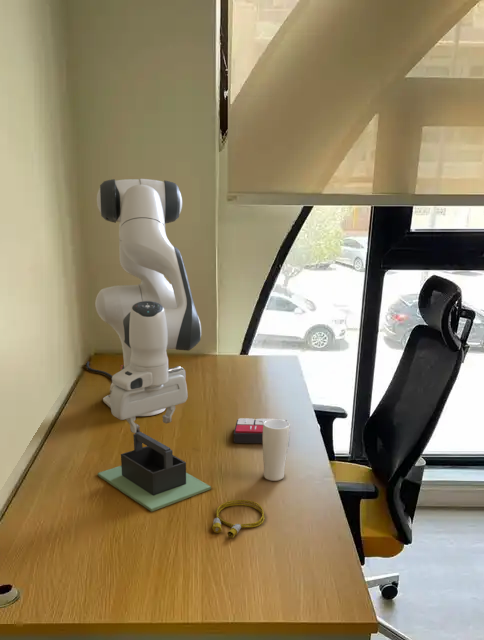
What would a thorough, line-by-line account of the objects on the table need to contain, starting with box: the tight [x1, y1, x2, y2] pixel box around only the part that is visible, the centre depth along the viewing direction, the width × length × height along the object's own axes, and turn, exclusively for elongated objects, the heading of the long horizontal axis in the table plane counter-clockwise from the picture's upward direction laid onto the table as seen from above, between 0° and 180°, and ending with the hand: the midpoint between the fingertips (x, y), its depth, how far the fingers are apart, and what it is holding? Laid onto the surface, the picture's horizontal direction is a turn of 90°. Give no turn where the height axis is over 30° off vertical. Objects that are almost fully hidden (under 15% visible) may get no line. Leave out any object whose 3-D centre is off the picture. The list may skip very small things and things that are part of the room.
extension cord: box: [211, 499, 265, 538], centre depth 159 cm, size 12×16×2 cm
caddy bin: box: [120, 431, 187, 496], centre depth 172 cm, size 14×10×11 cm
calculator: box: [233, 417, 288, 444], centre depth 201 cm, size 11×4×15 cm
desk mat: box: [97, 465, 212, 513], centre depth 174 cm, size 24×18×1 cm
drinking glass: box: [262, 418, 291, 482], centre depth 176 cm, size 7×7×15 cm
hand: (151, 427), depth 168 cm, fingers open, 8 cm apart
